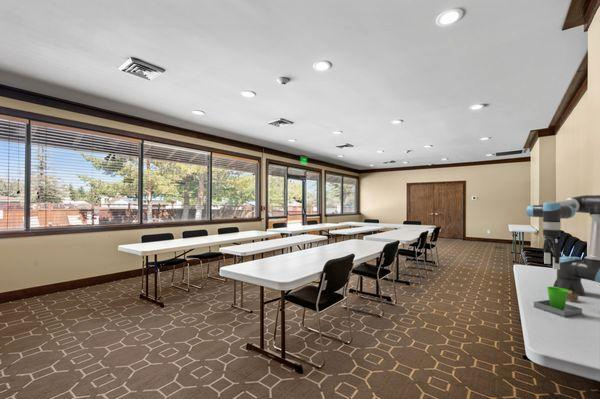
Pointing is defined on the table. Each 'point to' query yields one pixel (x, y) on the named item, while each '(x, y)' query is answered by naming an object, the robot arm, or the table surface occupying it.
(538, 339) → the table surface
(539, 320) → the table surface
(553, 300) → the cup
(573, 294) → the block
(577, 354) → the table surface
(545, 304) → the tray
